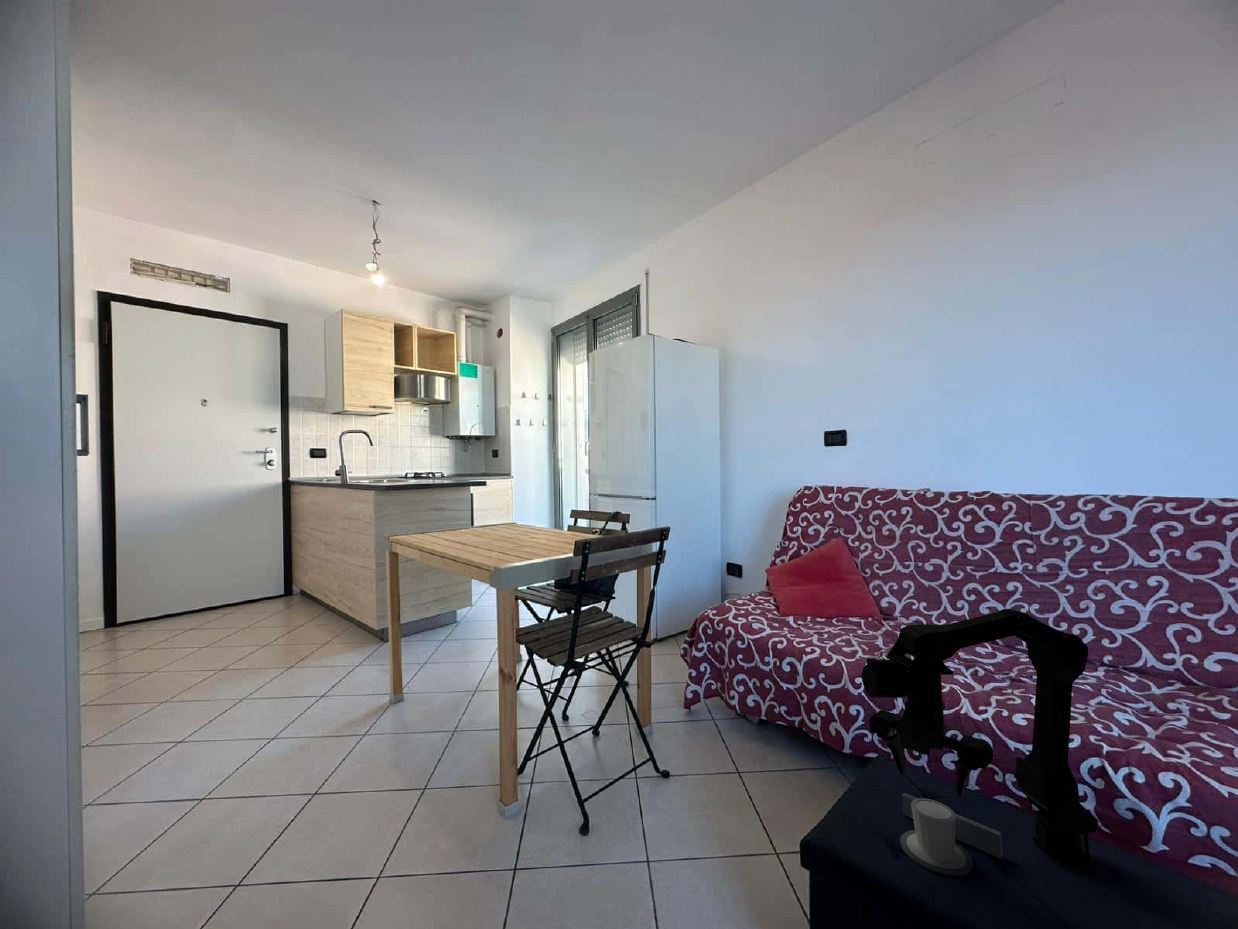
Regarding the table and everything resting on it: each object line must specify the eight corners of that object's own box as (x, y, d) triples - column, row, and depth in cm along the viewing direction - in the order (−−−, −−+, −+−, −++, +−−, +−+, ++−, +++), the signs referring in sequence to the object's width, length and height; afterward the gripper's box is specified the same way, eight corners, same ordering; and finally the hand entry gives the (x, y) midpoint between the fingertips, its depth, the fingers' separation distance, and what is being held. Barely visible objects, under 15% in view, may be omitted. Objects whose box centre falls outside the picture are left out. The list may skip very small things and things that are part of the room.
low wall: (902, 815, 96) (901, 795, 97) (905, 813, 97) (903, 792, 98) (1001, 859, 84) (999, 835, 85) (1003, 856, 85) (1001, 832, 85)
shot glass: (915, 855, 85) (912, 814, 85) (912, 832, 91) (909, 794, 91) (961, 869, 81) (958, 825, 82) (955, 844, 87) (952, 804, 88)
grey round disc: (949, 833, 91) (948, 831, 91) (988, 878, 80) (988, 874, 80) (889, 831, 92) (889, 828, 92) (920, 874, 81) (920, 871, 81)
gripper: (854, 693, 91) (859, 779, 89) (972, 727, 76) (980, 830, 75) (878, 679, 98) (883, 759, 96) (990, 708, 83) (997, 802, 82)
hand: (930, 785), depth 87 cm, fingers open, 9 cm apart
